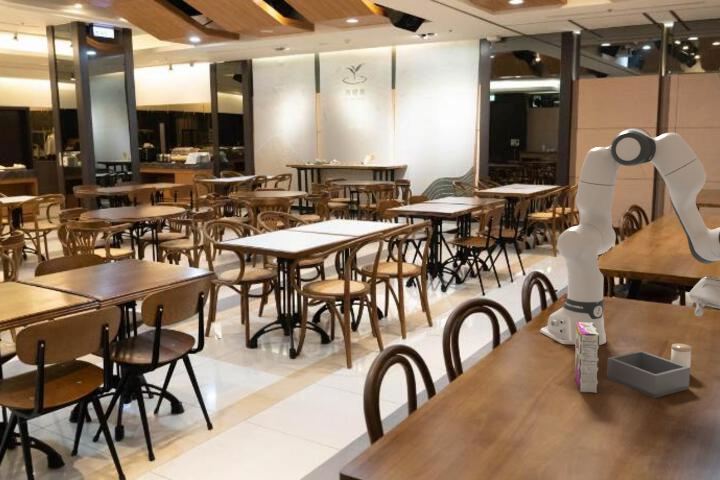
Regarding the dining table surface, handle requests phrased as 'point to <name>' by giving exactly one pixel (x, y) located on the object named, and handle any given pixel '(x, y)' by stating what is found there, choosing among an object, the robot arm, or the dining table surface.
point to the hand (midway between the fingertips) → (711, 318)
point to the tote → (648, 373)
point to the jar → (681, 354)
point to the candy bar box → (586, 357)
